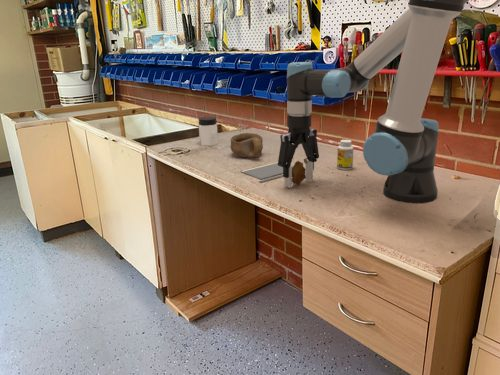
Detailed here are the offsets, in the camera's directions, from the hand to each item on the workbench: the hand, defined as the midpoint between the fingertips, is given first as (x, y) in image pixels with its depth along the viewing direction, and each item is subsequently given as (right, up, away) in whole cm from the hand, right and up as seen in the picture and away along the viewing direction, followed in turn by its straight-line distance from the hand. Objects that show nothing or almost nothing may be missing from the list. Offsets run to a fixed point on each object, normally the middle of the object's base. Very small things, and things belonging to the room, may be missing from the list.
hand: (298, 183), depth 138 cm
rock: (0, -1, 0) cm, 1 cm away
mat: (-9, +5, +15) cm, 18 cm away
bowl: (-16, +11, +35) cm, 40 cm away
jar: (-35, +19, +57) cm, 70 cm away
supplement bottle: (+19, +5, +16) cm, 25 cm away
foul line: (-4, +3, +9) cm, 11 cm away
